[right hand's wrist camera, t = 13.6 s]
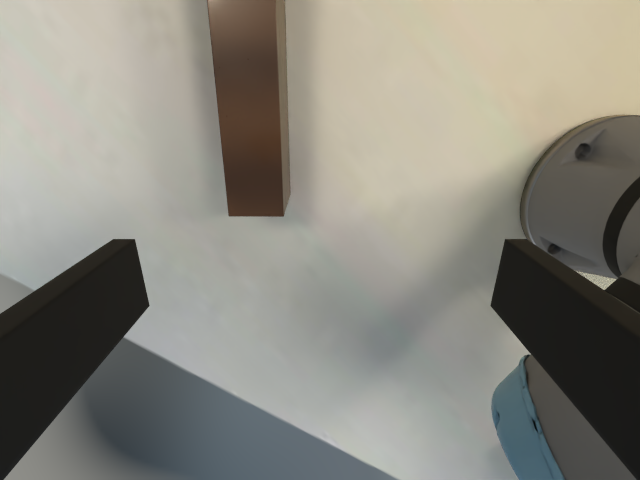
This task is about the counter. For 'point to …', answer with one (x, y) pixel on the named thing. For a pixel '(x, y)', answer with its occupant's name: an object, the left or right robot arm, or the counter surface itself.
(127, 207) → the counter surface
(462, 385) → the counter surface
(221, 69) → the plank
